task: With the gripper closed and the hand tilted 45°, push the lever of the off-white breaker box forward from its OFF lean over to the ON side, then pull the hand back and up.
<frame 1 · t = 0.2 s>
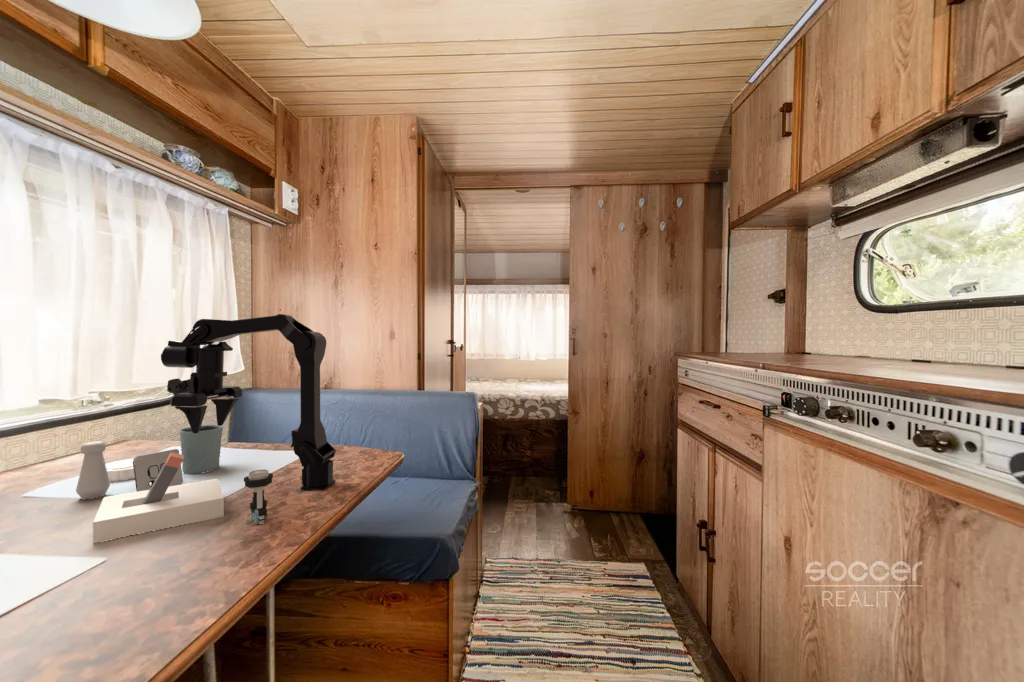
hand: (208, 429, 110), 15 cm above the table, tool pointing down, fingers open, 9 cm apart
salt shaker: (93, 497, 102), on the table
green cup: (201, 470, 124), on the table
mooncake: (127, 476, 119), on the table
push button: (258, 521, 89), on the table
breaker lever: (163, 480, 91), point 8 cm above the table, hinge at -25.0°
breaker box: (151, 518, 90), on the table
electrical switch: (156, 489, 108), on the table
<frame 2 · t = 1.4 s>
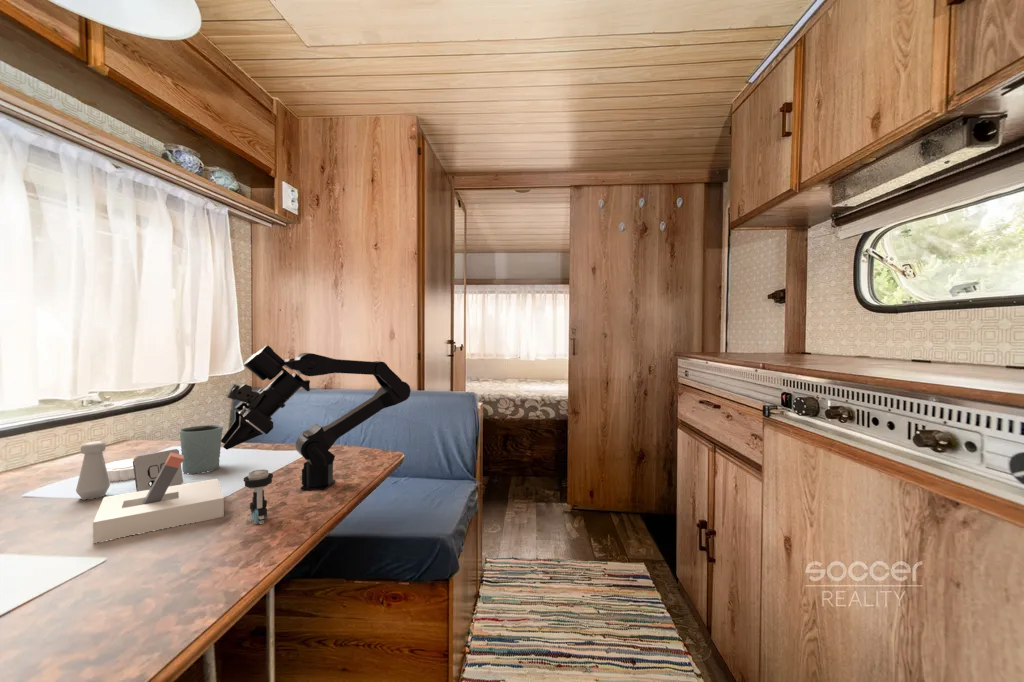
hand: (223, 445, 98), 14 cm above the table, tool tilted 45°, fingers open, 6 cm apart
nothing on the table moved.
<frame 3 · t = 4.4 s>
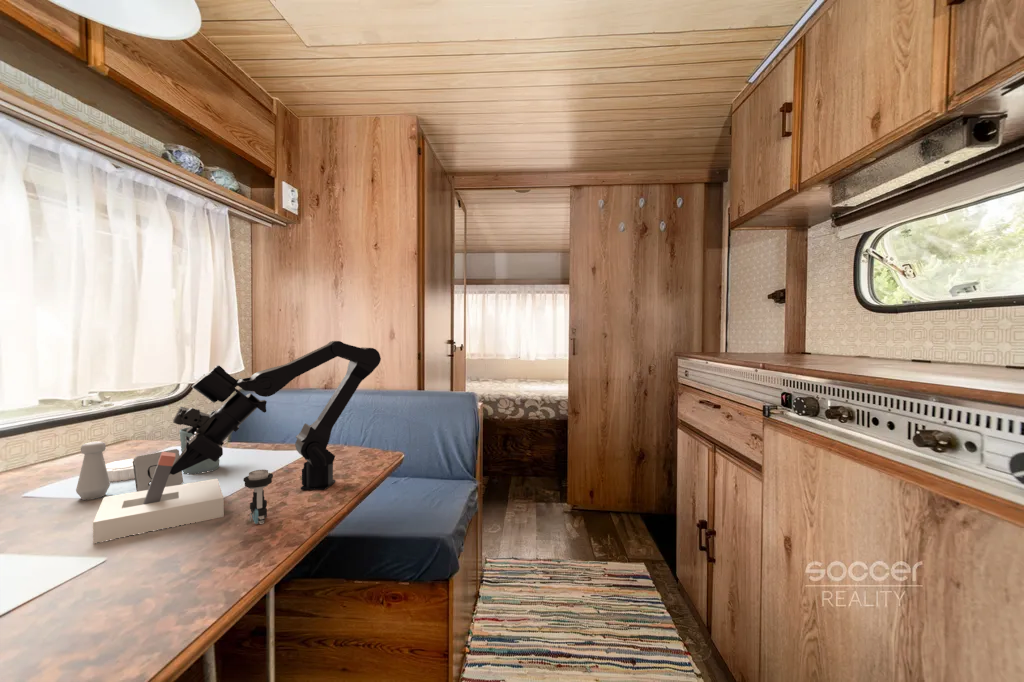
hand: (170, 473, 92), 9 cm above the table, tool tilted 45°, fingers closed, pressing on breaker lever
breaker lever: (159, 480, 91), point 8 cm above the table, hinge at -16.2°, touching gripper
everything else where it was.
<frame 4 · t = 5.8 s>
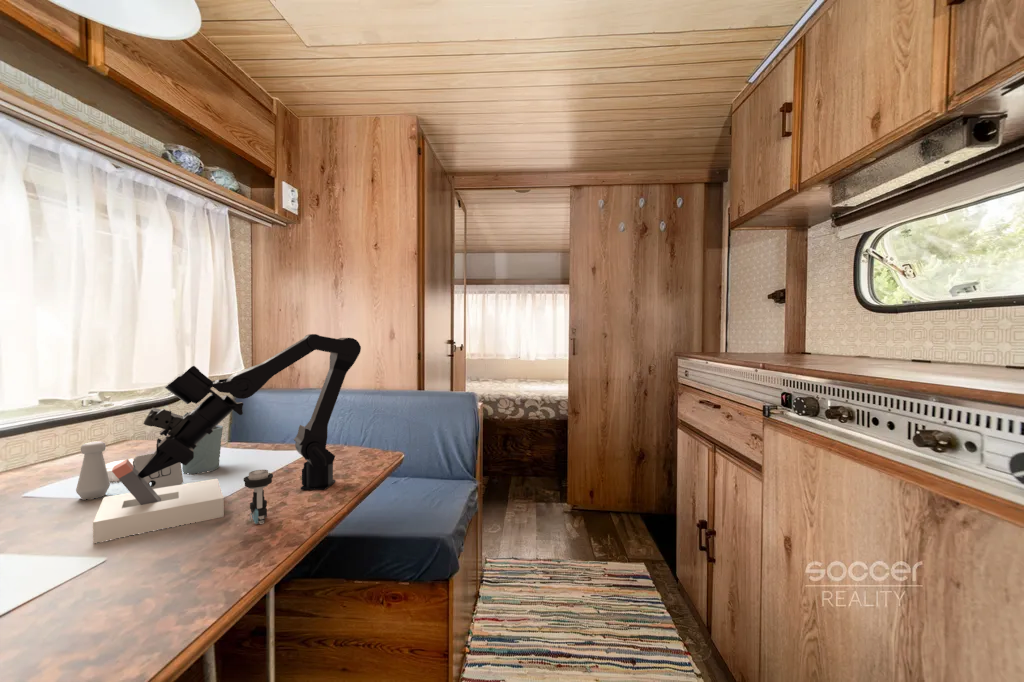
hand: (139, 476, 89), 9 cm above the table, tool tilted 45°, fingers closed, pressing on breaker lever
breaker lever: (137, 485, 89), point 7 cm above the table, hinge at 29.6°, touching gripper
everything else where it was.
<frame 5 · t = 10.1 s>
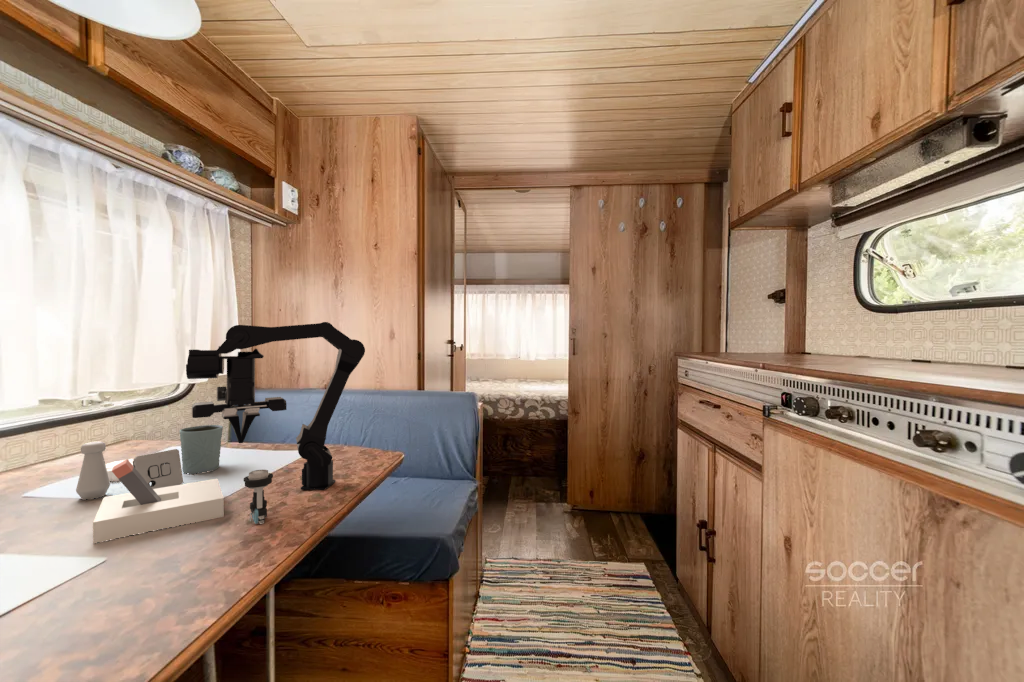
hand: (240, 442, 103), 13 cm above the table, tool pointing down, fingers closed
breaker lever: (137, 485, 89), point 7 cm above the table, hinge at 29.8°
everything else where it was.
at the end: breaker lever at +30° (first picture: -25°) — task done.
